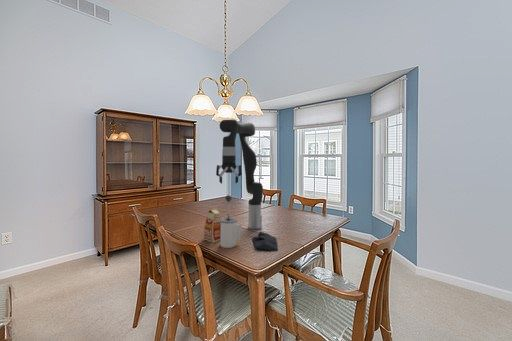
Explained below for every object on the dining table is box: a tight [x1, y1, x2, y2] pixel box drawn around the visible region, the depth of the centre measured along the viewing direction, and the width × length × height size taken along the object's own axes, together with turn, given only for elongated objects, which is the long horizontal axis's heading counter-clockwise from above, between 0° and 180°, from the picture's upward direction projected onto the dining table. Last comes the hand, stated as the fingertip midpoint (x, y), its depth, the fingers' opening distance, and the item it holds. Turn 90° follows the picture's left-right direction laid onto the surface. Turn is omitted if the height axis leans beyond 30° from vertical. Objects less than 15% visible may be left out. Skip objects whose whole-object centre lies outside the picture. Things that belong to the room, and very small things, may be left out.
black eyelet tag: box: [252, 231, 279, 252], centre depth 142 cm, size 15×22×5 cm
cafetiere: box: [219, 216, 242, 249], centre depth 139 cm, size 12×9×15 cm
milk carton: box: [202, 207, 221, 243], centre depth 149 cm, size 9×9×20 cm
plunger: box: [225, 194, 233, 220], centre depth 138 cm, size 4×4×16 cm
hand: (228, 183), depth 137 cm, fingers open, 8 cm apart
